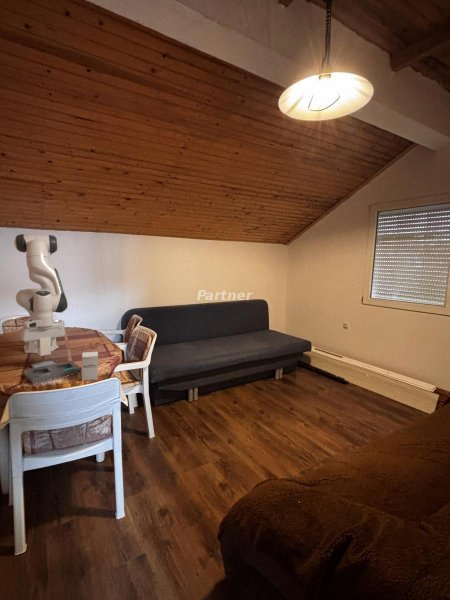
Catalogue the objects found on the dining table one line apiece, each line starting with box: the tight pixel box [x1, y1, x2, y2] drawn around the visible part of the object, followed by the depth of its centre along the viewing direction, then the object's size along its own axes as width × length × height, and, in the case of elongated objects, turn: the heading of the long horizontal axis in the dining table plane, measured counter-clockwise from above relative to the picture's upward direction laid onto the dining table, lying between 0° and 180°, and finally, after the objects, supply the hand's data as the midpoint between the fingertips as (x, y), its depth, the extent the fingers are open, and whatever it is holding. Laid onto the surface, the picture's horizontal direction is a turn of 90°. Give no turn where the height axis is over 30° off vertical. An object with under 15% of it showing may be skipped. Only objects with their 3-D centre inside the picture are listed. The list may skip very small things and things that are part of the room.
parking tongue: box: [30, 360, 57, 368], centre depth 161 cm, size 9×10×1 cm
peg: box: [37, 338, 52, 357], centre depth 160 cm, size 5×5×9 cm
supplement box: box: [81, 351, 99, 382], centre depth 150 cm, size 7×7×13 cm
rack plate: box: [23, 360, 82, 385], centre depth 152 cm, size 14×22×3 cm, turn 138°
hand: (44, 346), depth 160 cm, fingers closed on peg, 5 cm apart
